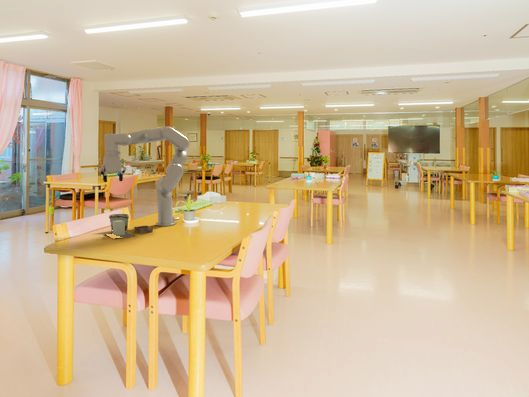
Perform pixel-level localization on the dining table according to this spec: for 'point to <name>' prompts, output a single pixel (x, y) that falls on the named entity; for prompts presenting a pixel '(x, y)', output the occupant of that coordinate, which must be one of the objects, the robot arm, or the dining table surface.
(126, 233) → the charcoal mat
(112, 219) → the food container
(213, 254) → the dining table surface
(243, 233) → the dining table surface
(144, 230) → the walnut holder
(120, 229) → the sage block
